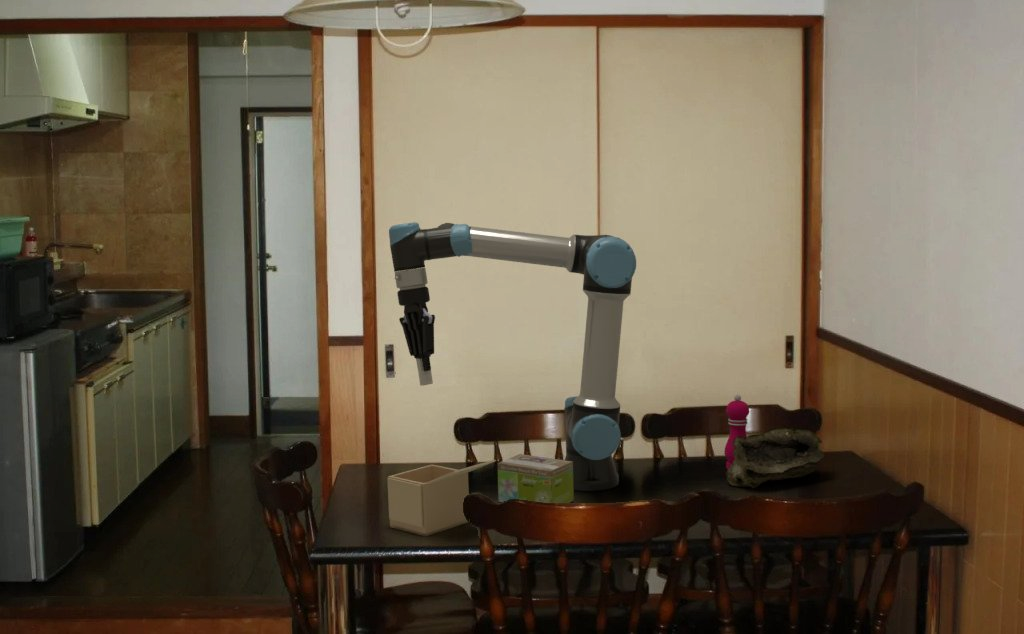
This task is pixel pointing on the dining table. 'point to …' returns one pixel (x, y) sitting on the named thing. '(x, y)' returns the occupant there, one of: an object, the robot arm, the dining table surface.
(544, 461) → the tea box
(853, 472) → the dining table surface
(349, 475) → the dining table surface
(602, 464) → the robot arm
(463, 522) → the carton
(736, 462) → the hollow geode rock
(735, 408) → the pepper mill
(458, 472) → the flap
